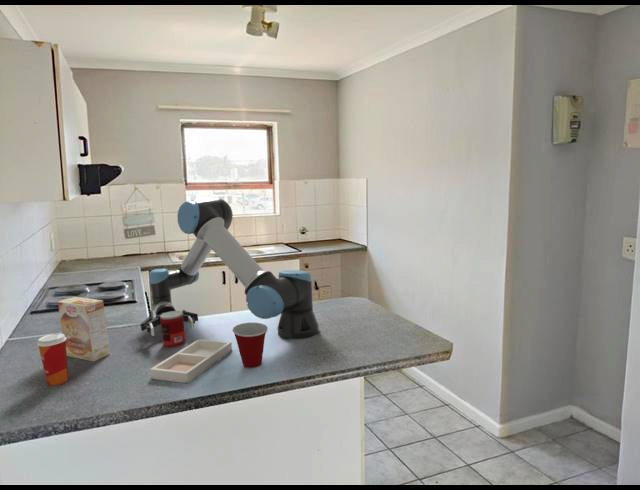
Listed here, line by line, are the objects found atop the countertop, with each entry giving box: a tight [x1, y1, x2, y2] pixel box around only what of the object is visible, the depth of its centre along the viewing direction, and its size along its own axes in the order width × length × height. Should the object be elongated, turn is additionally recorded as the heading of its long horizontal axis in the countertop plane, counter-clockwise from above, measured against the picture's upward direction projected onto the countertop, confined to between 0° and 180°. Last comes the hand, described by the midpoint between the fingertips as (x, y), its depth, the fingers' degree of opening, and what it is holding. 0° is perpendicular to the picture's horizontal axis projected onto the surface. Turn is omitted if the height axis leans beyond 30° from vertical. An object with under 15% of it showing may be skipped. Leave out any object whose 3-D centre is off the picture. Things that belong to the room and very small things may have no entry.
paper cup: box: [36, 333, 69, 387], centre depth 140 cm, size 8×8×14 cm
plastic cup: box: [232, 322, 269, 369], centre depth 145 cm, size 11×11×12 cm
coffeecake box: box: [57, 296, 111, 362], centre depth 160 cm, size 15×7×20 cm, turn 62°
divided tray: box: [149, 338, 233, 384], centre depth 149 cm, size 25×13×3 cm, turn 160°
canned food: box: [160, 310, 186, 348], centre depth 167 cm, size 8×8×11 cm
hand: (173, 328), depth 165 cm, fingers open, 13 cm apart
